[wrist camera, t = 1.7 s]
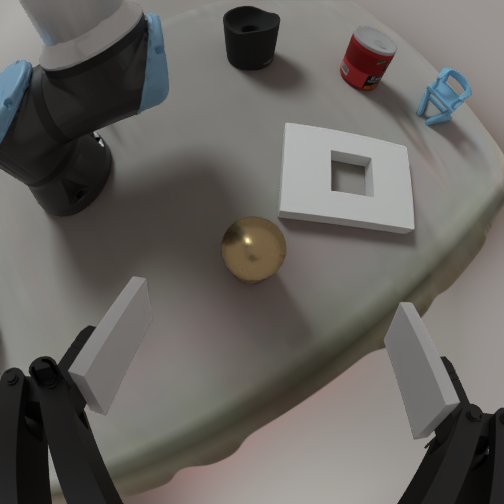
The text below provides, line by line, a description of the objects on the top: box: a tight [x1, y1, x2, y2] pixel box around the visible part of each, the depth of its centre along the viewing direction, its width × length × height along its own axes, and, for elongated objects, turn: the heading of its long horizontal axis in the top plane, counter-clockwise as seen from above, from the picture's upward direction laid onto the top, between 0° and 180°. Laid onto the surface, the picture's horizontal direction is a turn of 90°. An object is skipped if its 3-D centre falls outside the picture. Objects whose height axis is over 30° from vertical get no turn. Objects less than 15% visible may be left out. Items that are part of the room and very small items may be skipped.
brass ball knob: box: [221, 217, 286, 284], centre depth 33 cm, size 6×6×12 cm
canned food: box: [340, 26, 397, 91], centre depth 41 cm, size 8×8×11 cm
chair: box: [416, 68, 472, 125], centre depth 40 cm, size 8×8×12 cm
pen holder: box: [223, 6, 280, 70], centre depth 41 cm, size 9×9×10 cm
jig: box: [278, 123, 414, 234], centre depth 40 cm, size 20×14×3 cm
